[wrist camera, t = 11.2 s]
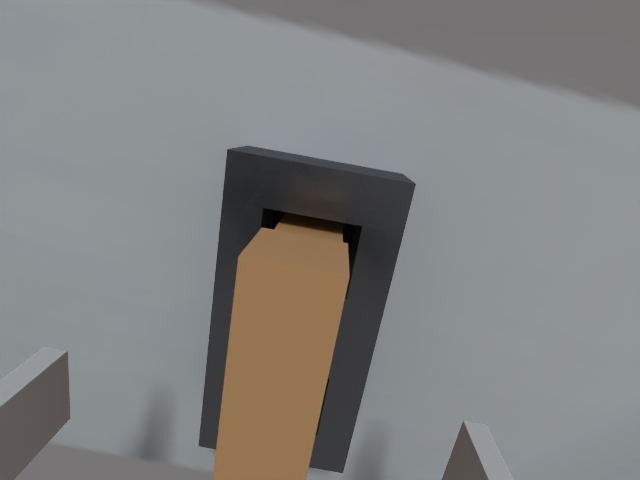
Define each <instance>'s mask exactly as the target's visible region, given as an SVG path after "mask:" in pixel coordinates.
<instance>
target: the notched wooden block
mask: <svg viewBox="0 0 640 480" xmlns="http://www.w3.org/2000/svg"><path fill="white" fill-rule="evenodd" d="M349 277H350V275H349V255H348V243H344V242H343V223H342V222H337V221H332V220H326V219H321V218H315V217H310V216H304V215H299V214H294V213H288V212H286V213H285V214H284V216H283V217H282V219H281V220H280V221H279V223H278V224H277V226H276V227H275V229H274V230H273V229H268V228H261V229H260V230H259V232H258V233H257V234H256V235H255V237H254V238H253V239H252V240H251V241H250V243H249V244H248V245H247V246H246V248H245V249H244V250H243V251H242V252H241V254H240V255H239V256H238V264H237V273H236V281H235V290H234V299H233V307H232V316H231V325H230V333H229V342H228V351H227V359H226V368H225V377H224V385H223V394H222V403H221V411H220V420H219V429H218V438H217V446H216V455H215V464H214V472H213V480H306V477H307V473H308V468H309V463H310V459H311V454H312V449H313V445H314V440H315V435H316V431H317V426H318V422H319V417H320V412H321V408H322V403H323V398H324V394H325V389H326V384H327V380H328V375H329V370H330V366H331V361H332V356H333V352H334V347H335V342H336V338H337V333H338V328H339V324H340V319H341V314H342V310H343V305H344V300H345V296H346V291H347V286H348V282H349Z"/></svg>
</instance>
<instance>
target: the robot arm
mask: <svg viewBox="0 0 640 480" xmlns="http://www.w3.org/2000/svg"><path fill="white" fill-rule="evenodd" d="M69 419H70V399H69V374H68V351H66V350H61V349H55V348H49V347H43V348H42V349H40V350H39V351H38V352H36V353H35V354H34V355H32V356H31V357H30V358H28V359H27V360H26V361H24V362H23V363H22V364H20V365H19V366H18V367H16V368H15V369H14V370H13V371H11V372H10V373H9V374H7V375H6V376H5V377H3V378H2V379H1V380H0V480H14V479H15V478H16V477H17V476H18V475H19V473H20V472H21V471H22V470H23V469H24V468H25V467H26V466H27V465H28V464H29V462H30V461H31V460H32V459H33V458H34V457H35V456H36V455H37V454H38V453H39V452H40V450H41V449H42V448H43V447H44V446H45V445H46V444H47V443H48V442H49V441H50V440H51V439H52V437H53V436H54V435H55V434H56V433H57V432H58V431H59V430H60V429H61V428H62V427H63V425H64V424H65V423H66V422H67V421H68V420H69ZM442 480H514V479H513V477H512V475H511V473H510V471H509V469H508V467H507V465H506V463H505V461H504V459H503V457H502V455H501V453H500V451H499V449H498V447H497V445H496V443H495V441H494V439H493V437H492V435H491V433H490V431H489V429H488V427H487V425H485V424H480V423H474V422H468V421H463V423H462V426H461V429H460V431H459V434H458V437H457V440H456V442H455V445H454V448H453V451H452V453H451V456H450V459H449V462H448V464H447V467H446V470H445V473H444V475H443V478H442Z"/></svg>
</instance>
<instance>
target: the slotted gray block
mask: <svg viewBox="0 0 640 480" xmlns="http://www.w3.org/2000/svg"><path fill="white" fill-rule="evenodd" d="M415 185H416V184H415V183H414V182H413V181H411V180H410V179H409V178H407V177H406V176H405V175H403V174H399V173H394V172H388V171H383V170H378V169H372V168H367V167H361V166H356V165H350V164H345V163H339V162H334V161H328V160H323V159H318V158H312V157H307V156H301V155H296V154H290V153H285V152H279V151H274V150H269V149H263V148H258V147H252V146H244V147H238V148H232V149H227V159H226V170H225V180H224V190H223V201H222V211H221V221H220V232H219V242H218V252H217V263H216V273H215V283H214V293H213V304H212V314H211V324H210V335H209V345H208V355H207V366H206V376H205V386H204V397H203V407H202V417H201V428H200V438H199V446H201V447H207V448H212V449H216V446H217V438H218V429H219V420H220V411H221V403H222V394H223V385H224V377H225V368H226V359H227V351H228V342H229V333H230V325H231V316H232V307H233V299H234V290H235V281H236V273H237V264H238V256H239V255H240V254H241V252H242V251H243V250H244V249H245V248H246V246H247V245H248V244H249V243H250V241H251V240H252V239H253V238H254V237H255V235H256V234H257V233H258V232H259V230H260V229H261V228H268V229H272V225H273V218H274V211H275V210H277V211H283V212H288V213H294V214H299V215H304V216H310V217H315V218H321V219H326V220H332V221H337V222H342V223H348V224H353V225H356V226H355V231H354V236H353V240H352V245H351V250H350V255H349V275H350V277H349V282H348V286H347V291H346V296H345V300H344V305H343V310H342V314H341V319H340V324H339V328H338V333H337V338H336V342H335V347H334V352H333V356H332V361H331V366H330V370H329V375H328V380H327V384H326V389H325V394H324V398H323V403H322V408H321V412H320V417H319V422H318V426H317V431H316V435H315V440H314V445H313V449H312V454H311V459H310V463H309V467H313V468H318V469H323V470H329V471H334V472H339V473H343V470H344V466H345V462H346V459H347V455H348V451H349V447H350V443H351V439H352V435H353V431H354V427H355V423H356V419H357V415H358V411H359V407H360V403H361V399H362V395H363V391H364V387H365V383H366V379H367V375H368V371H369V367H370V363H371V359H372V355H373V351H374V348H375V344H376V340H377V336H378V332H379V328H380V324H381V320H382V316H383V312H384V308H385V304H386V300H387V296H388V292H389V288H390V284H391V280H392V276H393V272H394V268H395V264H396V260H397V256H398V252H399V248H400V244H401V240H402V236H403V233H404V229H405V225H406V221H407V217H408V213H409V209H410V205H411V201H412V197H413V193H414V189H415Z"/></svg>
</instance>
